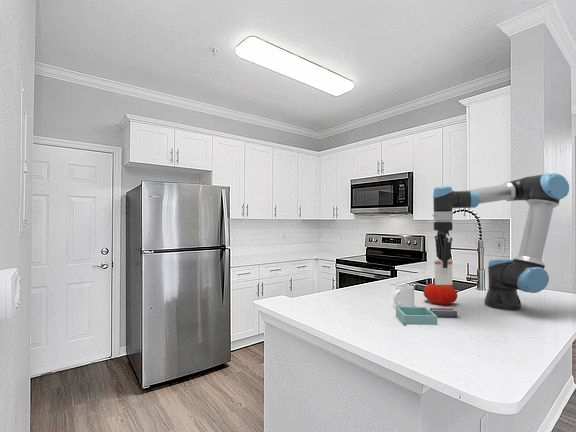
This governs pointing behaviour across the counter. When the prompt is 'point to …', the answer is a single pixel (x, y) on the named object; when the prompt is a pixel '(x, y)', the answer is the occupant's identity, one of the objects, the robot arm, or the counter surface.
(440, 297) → the tomato
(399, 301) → the mug
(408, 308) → the tray
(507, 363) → the counter surface
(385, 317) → the counter surface
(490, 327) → the counter surface
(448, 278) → the cream red-striped panel
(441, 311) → the metal rectangular holder
